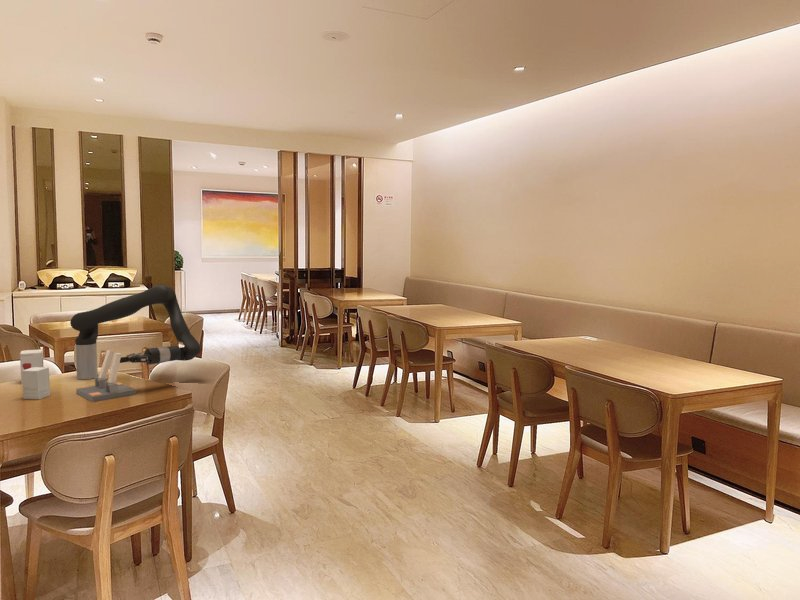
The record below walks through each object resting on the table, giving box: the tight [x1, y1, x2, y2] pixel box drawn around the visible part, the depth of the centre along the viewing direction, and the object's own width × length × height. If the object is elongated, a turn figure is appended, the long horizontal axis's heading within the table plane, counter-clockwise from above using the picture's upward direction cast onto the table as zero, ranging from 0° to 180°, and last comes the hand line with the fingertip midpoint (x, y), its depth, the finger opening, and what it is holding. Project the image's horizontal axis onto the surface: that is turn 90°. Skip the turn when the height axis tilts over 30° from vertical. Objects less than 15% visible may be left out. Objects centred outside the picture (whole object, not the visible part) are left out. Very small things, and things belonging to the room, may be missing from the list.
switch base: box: [75, 377, 137, 403], centre depth 246 cm, size 20×18×6 cm
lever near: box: [107, 352, 122, 387], centre depth 242 cm, size 3×2×15 cm
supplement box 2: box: [21, 366, 51, 400], centre depth 238 cm, size 7×7×13 cm
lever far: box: [97, 349, 115, 382], centre depth 251 cm, size 3×2×15 cm
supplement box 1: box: [19, 349, 44, 385], centre depth 266 cm, size 9×9×15 cm
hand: (118, 360), depth 243 cm, fingers closed
